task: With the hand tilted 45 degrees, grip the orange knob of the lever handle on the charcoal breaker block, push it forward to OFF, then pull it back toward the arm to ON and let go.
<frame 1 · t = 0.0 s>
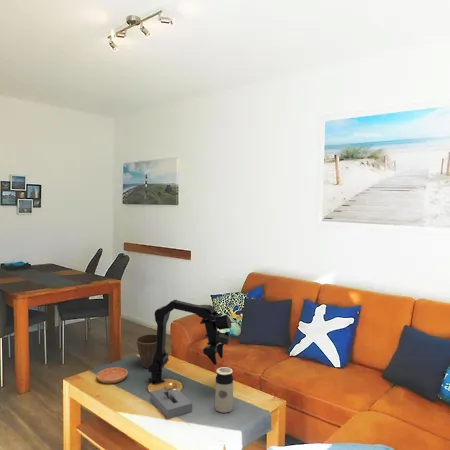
hand: (218, 361, 199), 15 cm above the table, tool pointing down, fingers open, 9 cm apart
saucer: (112, 379, 213), on the table
lever handle: (170, 392, 185), point 6 cm above the table, slide at 0.0 cm
plant pot: (149, 366, 229), on the table
breaker block: (170, 405, 185), on the table
travel mug: (223, 409, 183), on the table
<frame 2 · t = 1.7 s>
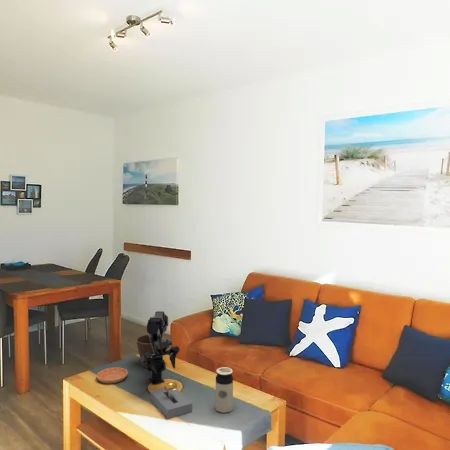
hand: (165, 371, 191), 14 cm above the table, tool tilted 45°, fingers open, 9 cm apart
nothing on the table moved.
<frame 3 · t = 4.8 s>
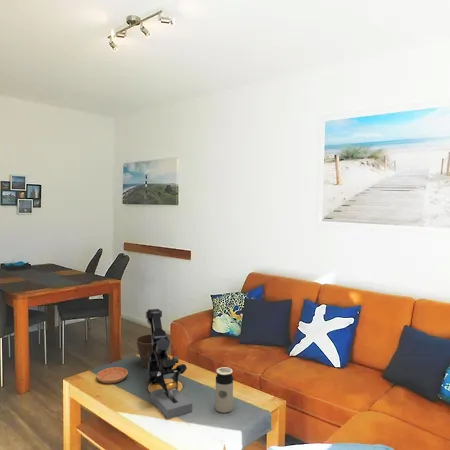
hand: (171, 390, 184), 8 cm above the table, tool tilted 45°, fingers closed on lever handle, 5 cm apart
lever handle: (170, 392, 185), point 6 cm above the table, slide at 0.0 cm, touching gripper
everything else where it was.
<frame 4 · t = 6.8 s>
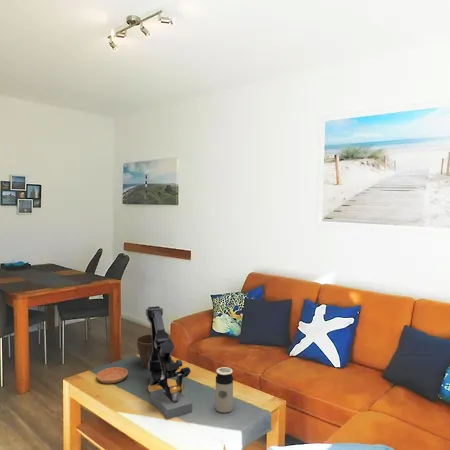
hand: (175, 394, 180), 8 cm above the table, tool tilted 45°, fingers closed on lever handle, 5 cm apart
lever handle: (174, 396, 181), point 6 cm above the table, slide at 4.1 cm, touching gripper
everything else where it was.
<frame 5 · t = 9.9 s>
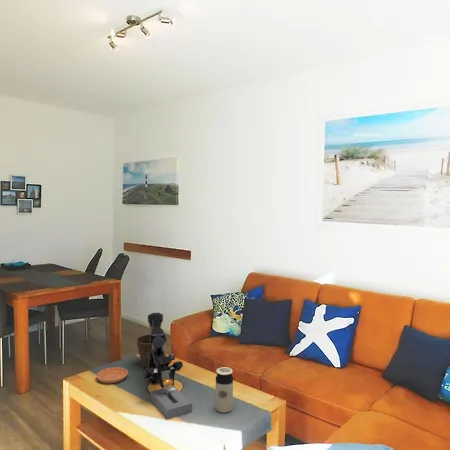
hand: (168, 386, 187), 8 cm above the table, tool tilted 45°, fingers closed on lever handle, 5 cm apart
lever handle: (167, 389, 188), point 6 cm above the table, slide at -4.1 cm, touching gripper
everything else where it was.
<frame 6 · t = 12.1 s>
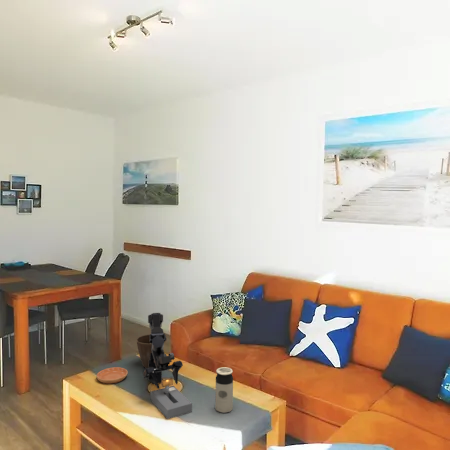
hand: (168, 386, 187), 8 cm above the table, tool tilted 45°, fingers open, 9 cm apart
lever handle: (167, 389, 188), point 6 cm above the table, slide at -4.0 cm
everything else where it was.
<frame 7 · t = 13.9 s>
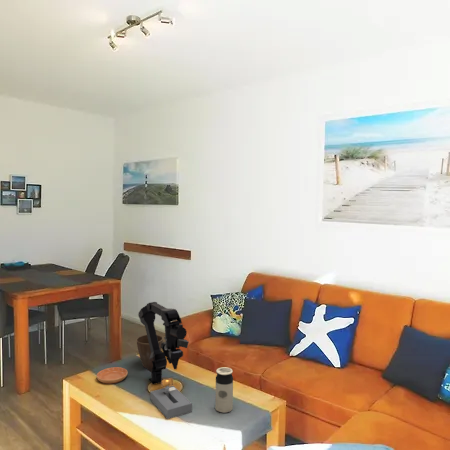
hand: (172, 366, 198), 13 cm above the table, tool pointing down, fingers open, 9 cm apart
nothing on the table moved.
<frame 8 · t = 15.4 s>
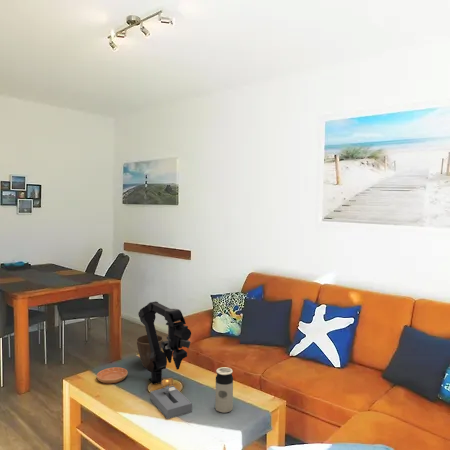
hand: (173, 365, 198), 13 cm above the table, tool pointing down, fingers open, 9 cm apart
nothing on the table moved.
at the end: lever handle slide at -4.0 cm; the gripper is holding nothing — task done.
